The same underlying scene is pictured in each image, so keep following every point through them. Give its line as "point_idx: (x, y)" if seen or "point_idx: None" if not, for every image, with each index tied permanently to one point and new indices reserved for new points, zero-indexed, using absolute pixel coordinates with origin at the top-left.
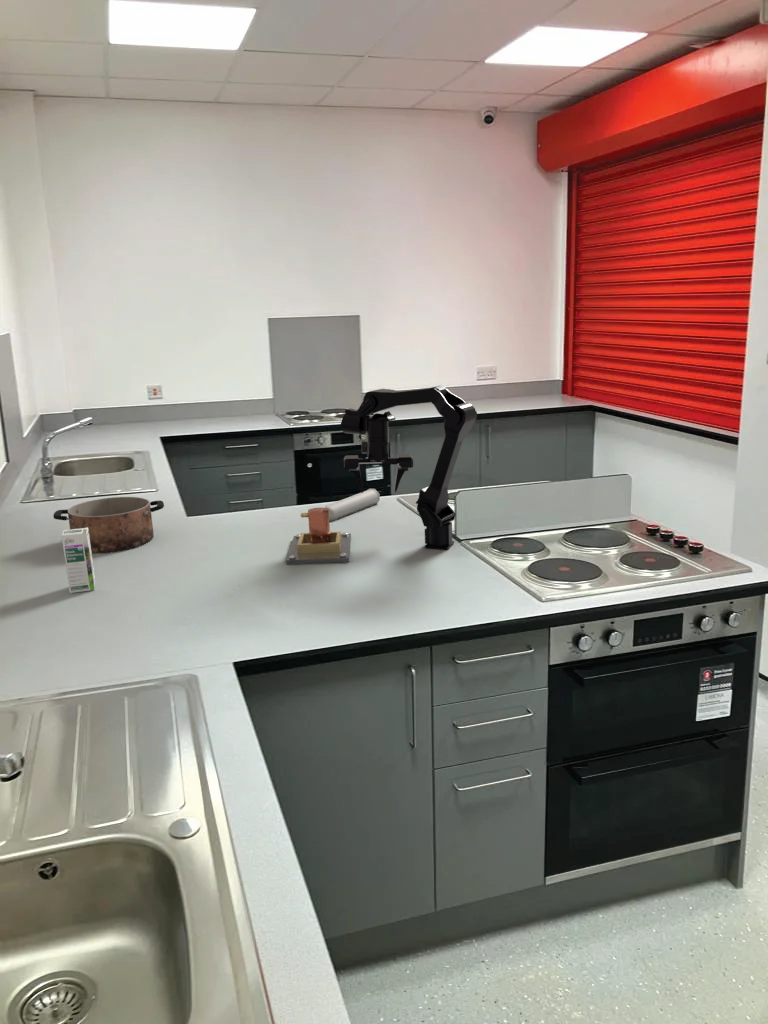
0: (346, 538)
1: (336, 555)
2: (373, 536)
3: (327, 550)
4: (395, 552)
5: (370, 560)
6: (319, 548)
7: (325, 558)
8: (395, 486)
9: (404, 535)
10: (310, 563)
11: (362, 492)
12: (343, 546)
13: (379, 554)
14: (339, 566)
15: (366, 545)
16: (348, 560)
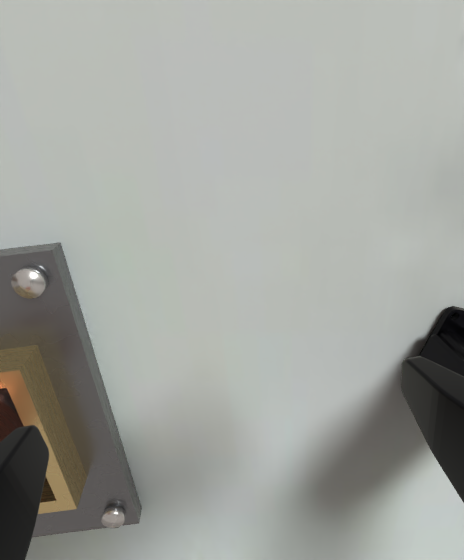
0: (57, 330)
1: (88, 508)
2: (174, 221)
3: None
4: (290, 423)
5: (209, 491)
6: None
7: (59, 531)
8: (445, 464)
9: (333, 207)
10: None
11: (44, 458)
12: (81, 428)
13: (233, 443)
14: (120, 534)
15: (165, 352)
16: (139, 513)
